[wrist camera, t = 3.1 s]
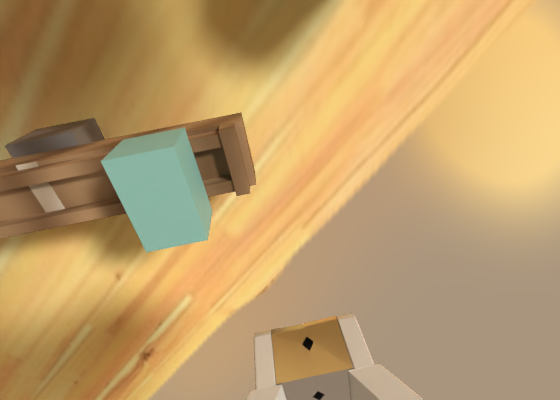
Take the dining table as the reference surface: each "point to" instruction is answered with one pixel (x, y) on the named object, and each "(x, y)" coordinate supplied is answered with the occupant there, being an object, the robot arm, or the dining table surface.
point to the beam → (103, 171)
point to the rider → (160, 189)
